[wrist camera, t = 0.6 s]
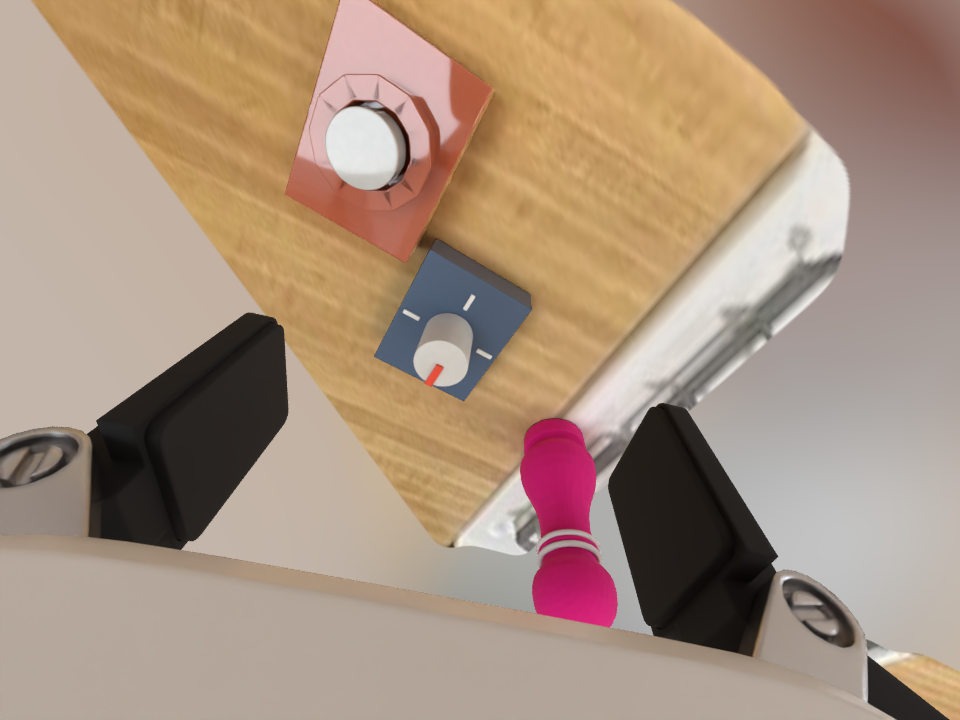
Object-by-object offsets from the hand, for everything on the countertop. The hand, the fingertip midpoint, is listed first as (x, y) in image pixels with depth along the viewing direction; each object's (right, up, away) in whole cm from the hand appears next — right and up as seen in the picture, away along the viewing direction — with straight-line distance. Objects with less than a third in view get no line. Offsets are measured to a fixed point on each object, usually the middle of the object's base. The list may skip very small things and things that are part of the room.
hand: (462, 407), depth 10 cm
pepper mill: (+8, -7, +32) cm, 34 cm away
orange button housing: (-5, +17, +17) cm, 25 cm away
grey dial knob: (-2, +3, +22) cm, 22 cm away
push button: (-6, +14, +13) cm, 20 cm away
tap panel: (-2, +5, +25) cm, 25 cm away
